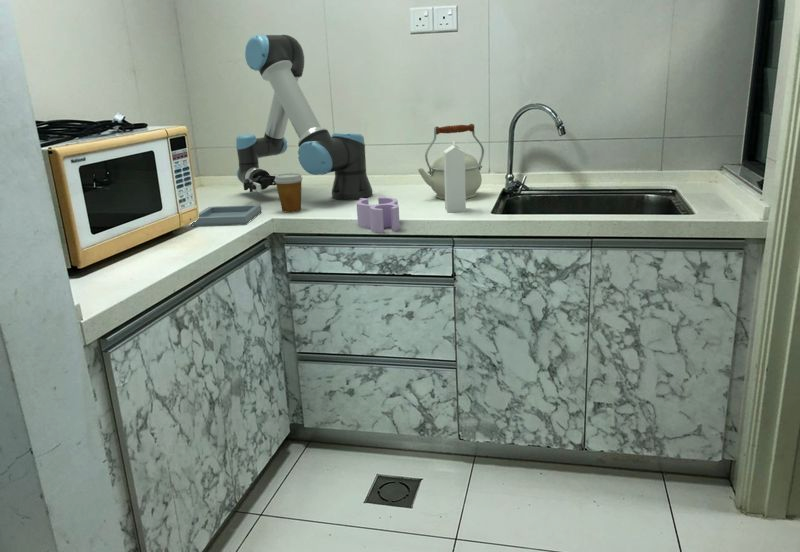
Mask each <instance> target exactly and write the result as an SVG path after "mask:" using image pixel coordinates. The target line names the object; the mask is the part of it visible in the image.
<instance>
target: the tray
mask: <svg viewBox="0 0 800 552" xmlns="http://www.w3.org/2000/svg"><path fill="white" fill-rule="evenodd" d="M198 213H199V219H198V220H197V221H196V222H193V223H192V224H190V226H191V225H193V226H192V227H209V226H210V227H211V226H212V225H219V226H231V225H230V224H246V225H248V224H249V223H250V222H251V221H253V220H254V219H255V218H256V217H258V216H259V215H260V214H261V213H262V205H261V204H252V205H249V204H247V205H246V204H243V205H225V206H224V205H223V206H222V205H221V206H208V207H206V208H205V209H203V210H201V211H199V212H198ZM259 213H260V214H259ZM258 214H259V215H258ZM257 215H258V216H257ZM255 216H256V217H255ZM254 217H255V218H254ZM253 218H254V219H253ZM252 219H253V220H252ZM250 220H251V221H250ZM249 221H250V222H249ZM248 222H249V223H248ZM247 223H248V224H247Z"/></svg>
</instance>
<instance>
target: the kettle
mask: <svg viewBox="0 0 800 552" xmlns="http://www.w3.org/2000/svg"><path fill="white" fill-rule="evenodd" d="M464 132H470V133H472V137H473V139H474V140H475V141H476V142H477V144H479V146H480V148H481V155H480V158H479V162H478V160H477V159H476V158H475V157H474V156H473V155H471V154H468V153H465V195H466V200H468V199H472V198H474V197H476V195H477V194H476V193H477V191H478V190H479V189H480V188H481V185H482V174H481V169H482V168H483V165H481V164H482V162H483V159H484V157H485V156H484V155H485V149H484V148H485V147H484V145H483V144H482V143H481V141H480V140H479V139H478V137H476V134H475V133H476V132H475V124H474V123H469V124H456V125H446V126H441V127H439V126H434V127H433V133H434V134H433V136H434V137H433V140H432V141H431V142H430V144H429V146H428V147H427V149H426V150H425V152H424V153H425V154H424V158H425V162H426V165H427V167H428V169H429V170H428V171H427V172H426V170H425V169H424V168H422V167H421V168H418V169H417V171H418V172H419V175H420V176H421V178H422V179H423V181H424V182H425V183H426V185H428V186H429V187H431V189H432V191H433V192H434V193H435V195H436V196H435V197H436V198H437V199H440V200H444V201H445V183H444V154H441V155H440V156H438V157H436V158H435V160H434V161H433V162H432V165H430V163H429V160H428V154H429V151H430V149H431V148H432V146H433V145H434V143H435V142H436V140H437V135H440V134H454V133H464ZM455 146H456V147H457V148H459V149H461V148H460V147H458V146H457V145H455Z"/></svg>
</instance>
